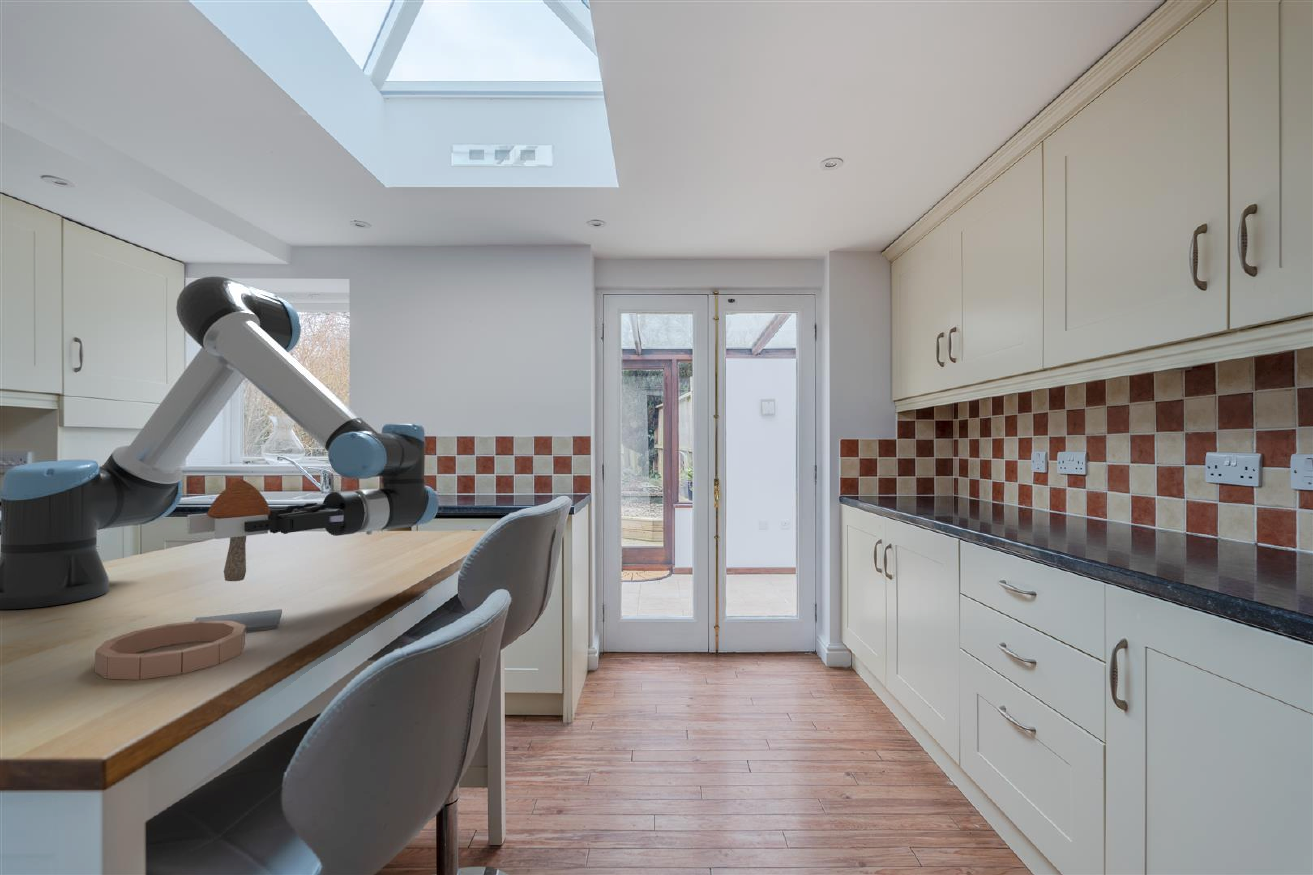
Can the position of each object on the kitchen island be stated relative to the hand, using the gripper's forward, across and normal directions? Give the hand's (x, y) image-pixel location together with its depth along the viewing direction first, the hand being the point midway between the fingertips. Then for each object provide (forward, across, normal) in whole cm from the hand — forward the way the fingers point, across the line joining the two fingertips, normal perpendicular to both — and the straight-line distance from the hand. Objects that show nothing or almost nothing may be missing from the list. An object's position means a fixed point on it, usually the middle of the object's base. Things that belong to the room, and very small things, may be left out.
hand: (202, 526), depth 86 cm
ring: (+6, -8, -15) cm, 18 cm away
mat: (-5, 0, -15) cm, 16 cm away
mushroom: (-5, 0, -9) cm, 10 cm away
